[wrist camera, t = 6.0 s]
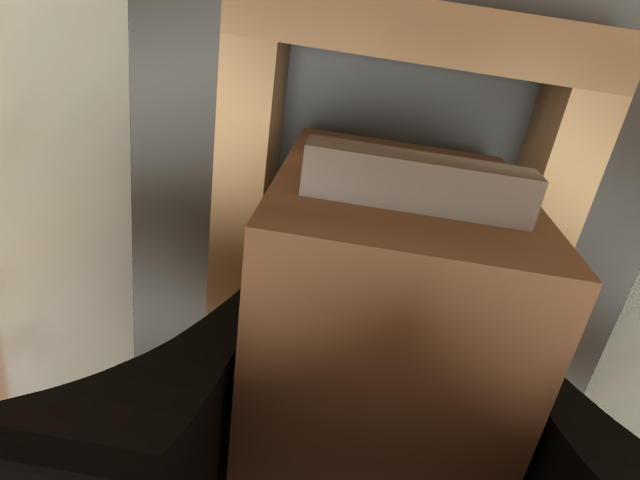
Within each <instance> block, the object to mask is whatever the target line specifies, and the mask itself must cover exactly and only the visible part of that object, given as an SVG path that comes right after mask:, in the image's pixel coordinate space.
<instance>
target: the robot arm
mask: <svg viewBox="0 0 640 480" xmlns="http://www.w3.org/2000/svg"><path fill="white" fill-rule="evenodd" d="M240 292H241V288H240V289H239V290H238V291H237V292H235V293H234V294H233V295H232V296H231V297H229V298H228V299H227V300H226V301H224V302H223V303H222V304H221V305H219V306H218V307H217V308H215V309H214V310H213V311H212V312H210V313H209V314H208V315H206V316H205V317H204V318H202V319H201V320H199V321H198V322H196V323H195V324H194V325H192V326H191V327H189V328H188V329H186V330H185V331H183V332H182V333H180V334H179V335H177V336H175V337H174V338H172V339H170V340H169V341H167V342H165V343H163V344H161V345H159V346H158V347H156V348H154V349H152V350H150V351H148V352H146V353H144V354H142V355H140V356H137V357H135V358H133V359H130V360H128V361H126V362H123V363H121V364H119V365H116V366H114V367H112V368H109V369H107V370H105V371H102V372H99V373H97V374H94V375H91V376H88V377H85V378H82V379H79V380H76V381H73V382H70V383H67V384H63V385H60V386H57V387H53V388H50V389H46V390H43V391H39V392H35V393H30V394H26V395H22V396H18V397H14V398H10V399H6V400H2V401H0V480H226V479H227V466H228V452H229V439H230V426H231V412H232V399H233V386H234V372H235V359H236V346H237V332H238V319H239V306H240ZM523 480H640V439H639V438H638V437H637V436H635V435H634V434H633V433H631V432H630V431H629V430H627V429H626V428H625V427H623V426H622V425H621V424H619V423H618V422H617V421H615V420H614V419H613V418H612V417H610V416H609V415H608V414H607V413H605V412H604V411H603V410H602V409H600V408H599V407H598V406H597V405H596V404H595V403H593V402H592V401H591V400H590V399H589V398H588V397H586V396H585V395H584V394H583V393H582V392H581V391H580V390H578V389H577V388H576V387H575V386H574V385H573V384H572V383H571V382H570V381H569V380H567V379H566V378H564V381H563V383H562V385H561V388H560V390H559V393H558V395H557V398H556V400H555V403H554V405H553V407H552V410H551V412H550V415H549V417H548V420H547V422H546V424H545V427H544V429H543V432H542V434H541V437H540V439H539V442H538V444H537V446H536V449H535V451H534V454H533V456H532V459H531V461H530V464H529V466H528V468H527V471H526V473H525V476H524V478H523Z"/></svg>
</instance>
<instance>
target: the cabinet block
mask: <svg viewBox="0 0 640 480" xmlns="http://www.w3.org/2000/svg"><path fill="white" fill-rule="evenodd" d="M548 184H549V182H548V181H547V180H546V179H545V178H544V177H543V175H542V174H541V173H540V172H539V171H538V170H537V169H536V168H529V167H523V166H516V165H509V164H506V163H505V161H504V160H503V159H502V158H501V157H496V156H489V155H483V154H476V153H470V152H463V151H456V150H450V149H443V148H437V147H430V146H423V145H417V144H410V143H404V142H397V141H390V140H384V139H377V138H371V137H364V136H357V135H351V134H344V133H338V132H331V131H325V130H318V129H311V128H305V127H304V128H303V130H302V132H301V133H300V135H299V137H298V138H297V140H296V142H295V144H294V145H293V147H292V149H291V150H290V152H289V154H288V155H287V157H286V159H285V161H284V162H283V164H282V166H281V167H280V169H279V171H278V172H277V174H276V176H275V177H274V179H273V181H272V183H271V184H270V186H269V188H268V189H267V191H266V193H265V194H264V196H263V198H262V200H261V201H260V203H259V205H258V206H257V208H256V210H255V211H254V213H253V215H252V216H251V218H250V220H249V222H248V223H247V225H246V227H245V239H244V252H243V266H242V279H241V292H240V306H239V319H238V332H237V346H236V359H235V372H234V386H233V399H232V412H231V426H230V439H229V452H228V466H227V479H226V480H523V478H524V476H525V473H526V471H527V468H528V466H529V464H530V461H531V459H532V456H533V454H534V451H535V449H536V446H537V444H538V442H539V439H540V437H541V434H542V432H543V429H544V427H545V424H546V422H547V420H548V417H549V415H550V412H551V410H552V407H553V405H554V403H555V400H556V398H557V395H558V393H559V390H560V388H561V385H562V383H563V381H564V378H565V376H566V373H567V371H568V368H569V366H570V363H571V361H572V359H573V356H574V354H575V351H576V349H577V346H578V344H579V342H580V339H581V337H582V334H583V332H584V329H585V327H586V324H587V322H588V320H589V317H590V315H591V312H592V310H593V307H594V305H595V302H596V300H597V298H598V295H599V293H600V290H601V288H602V285H603V283H602V282H601V280H600V279H599V278H598V277H597V275H596V274H595V273H594V272H593V271H592V269H591V268H590V267H589V266H588V264H587V263H586V262H585V261H584V259H583V258H582V257H581V256H580V254H579V253H578V252H577V251H576V249H575V248H574V247H573V246H572V244H571V243H570V242H569V241H568V240H567V238H566V237H565V236H564V235H563V233H562V232H561V231H560V230H559V228H558V227H557V226H556V225H555V223H554V222H553V221H552V220H551V218H550V217H549V216H548V215H547V213H546V212H545V211H544V210H543V208H542V207H541V205H542V202H543V199H544V196H545V193H546V190H547V187H548Z"/></svg>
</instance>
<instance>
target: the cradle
mask: <svg viewBox="0 0 640 480" xmlns="http://www.w3.org/2000/svg"><path fill="white" fill-rule="evenodd" d="M128 30H129V87H130V144H131V201H132V258H133V315H134V358H135V357H137V356H140V355H142V354H144V353H146V352H148V351H150V350H152V349H154V348H156V347H158V346H159V345H161V344H163V343H165V342H167V341H169V340H170V339H172V338H174V337H175V336H177V335H179V334H180V333H182V332H183V331H185V330H186V329H188V328H189V327H191V326H192V325H194V324H195V323H196V322H198V321H199V320H201V319H202V318H204V317H205V316H206V315H208V314H209V313H210V312H212V311H213V310H214V309H215V308H217V307H218V306H219V305H221V304H222V303H223V302H224V301H226V300H227V299H228V298H229V297H231V296H232V295H233V294H234V293H235V292H237V291H238V290H239V289H240V288H241V279H242V266H243V252H244V239H245V227H246V225H247V223H248V222H249V220H250V218H251V216H252V215H253V213H254V211H255V210H256V208H257V206H258V205H259V203H260V201H261V200H262V198H263V196H264V194H265V193H266V191H267V189H268V188H269V186H270V184H271V183H272V181H273V179H274V177H275V176H276V174H277V172H278V171H279V169H280V167H281V166H282V164H283V162H284V161H285V159H286V157H287V155H288V154H289V152H290V150H291V149H292V147H293V145H294V144H295V142H296V140H297V138H298V137H299V135H300V133H301V132H302V130H303V128H304V127H305V128H311V129H318V130H325V131H331V132H338V133H344V134H351V135H357V136H364V137H371V138H377V139H384V140H390V141H397V142H404V143H410V144H417V145H423V146H430V147H437V148H443V149H450V150H456V151H463V152H470V153H476V154H483V155H489V156H496V157H501V158H502V159H503V160H504V161H505V163H506V164H509V165H516V166H523V167H529V168H536V169H537V170H538V171H539V172H540V173H541V174H542V175H543V177H544V178H545V179H546V180H547V181H548V182H549V184H548V187H547V190H546V193H545V196H544V199H543V202H542V205H541V207H542V208H543V210H544V211H545V212H546V213H547V215H548V216H549V217H550V218H551V220H552V221H553V222H554V223H555V225H556V226H557V227H558V228H559V230H560V231H561V232H562V233H563V235H564V236H565V237H566V238H567V240H568V241H569V242H570V243H571V244H572V246H573V247H574V248H575V249H576V251H577V252H578V253H579V254H580V256H581V257H582V258H583V259H584V261H585V262H586V263H587V264H588V266H589V267H590V268H591V269H592V271H593V272H594V273H595V274H596V275H597V277H598V278H599V279H600V280H601V282H602V283H603V285H602V288H601V290H600V293H599V295H598V298H597V300H596V302H595V305H594V307H593V310H592V312H591V315H590V317H589V320H588V322H587V324H586V327H585V329H584V332H583V334H582V337H581V339H580V342H579V344H578V346H577V349H576V351H575V354H574V356H573V359H572V361H571V363H570V366H569V368H568V371H567V373H566V376H565V378H566V379H567V380H569V381H570V382H571V383H572V384H573V385H574V386H575V387H576V388H577V389H578V390H580V391H581V392H582V393H583V394H584V392H585V390H586V387H587V385H588V383H589V381H590V378H591V376H592V374H593V372H594V370H595V367H596V365H597V363H598V361H599V359H600V356H601V354H602V352H603V350H604V348H605V345H606V343H607V341H608V339H609V336H610V334H611V332H612V330H613V328H614V325H615V323H616V321H617V319H618V317H619V314H620V312H621V310H622V308H623V306H624V303H625V301H626V299H627V297H628V295H629V292H630V290H631V288H632V286H633V283H634V281H635V279H636V277H637V275H638V272H639V270H640V0H128Z"/></svg>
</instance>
